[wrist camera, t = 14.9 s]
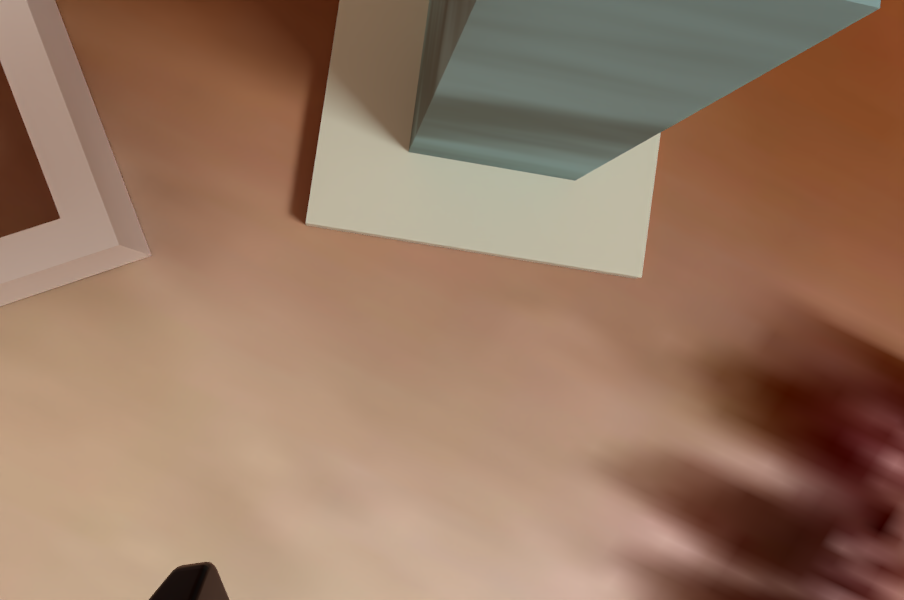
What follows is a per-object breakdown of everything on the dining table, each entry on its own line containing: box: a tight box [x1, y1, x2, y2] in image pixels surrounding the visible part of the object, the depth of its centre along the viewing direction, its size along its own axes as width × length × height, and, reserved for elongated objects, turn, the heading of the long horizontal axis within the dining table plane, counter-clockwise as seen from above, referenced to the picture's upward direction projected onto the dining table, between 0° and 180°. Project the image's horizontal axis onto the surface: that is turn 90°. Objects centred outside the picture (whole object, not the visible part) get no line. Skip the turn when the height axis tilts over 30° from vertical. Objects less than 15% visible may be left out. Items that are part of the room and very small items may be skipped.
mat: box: [306, 0, 661, 278], centre depth 21 cm, size 10×10×1 cm
